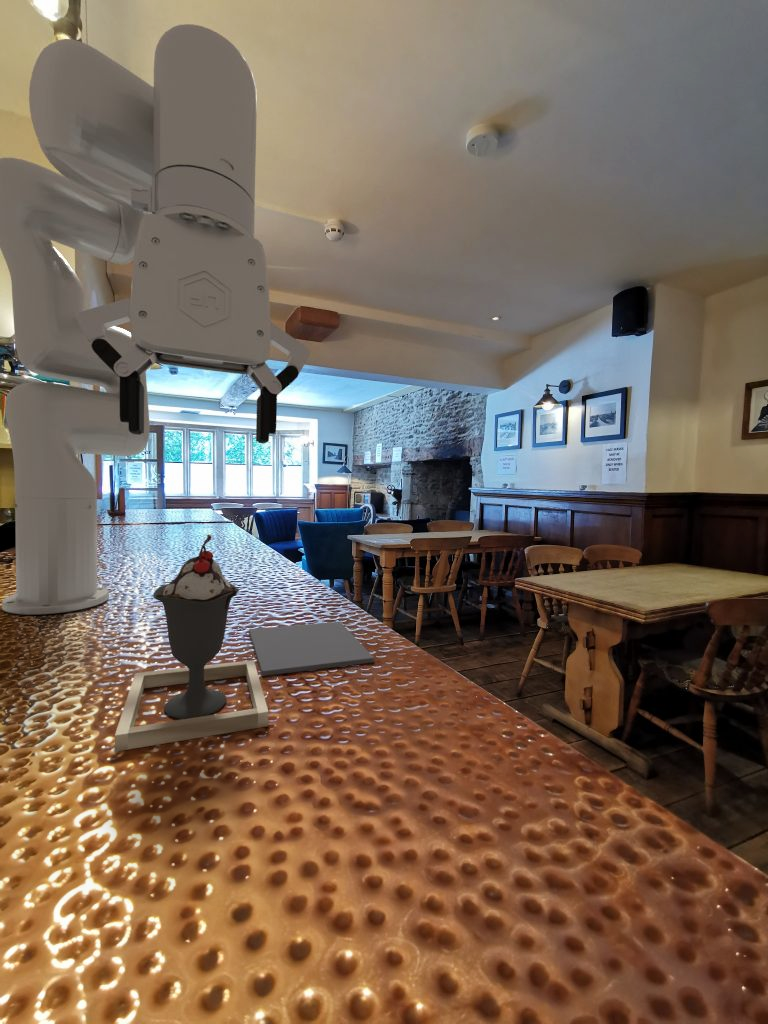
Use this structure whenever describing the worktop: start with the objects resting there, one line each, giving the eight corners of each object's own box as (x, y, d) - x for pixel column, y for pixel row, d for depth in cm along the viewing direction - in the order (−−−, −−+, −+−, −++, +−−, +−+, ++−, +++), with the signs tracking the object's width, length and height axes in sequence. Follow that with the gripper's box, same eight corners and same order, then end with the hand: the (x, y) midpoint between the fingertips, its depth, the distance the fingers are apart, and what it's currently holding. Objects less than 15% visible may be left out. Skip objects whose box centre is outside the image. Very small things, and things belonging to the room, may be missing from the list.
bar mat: (249, 632, 56) (249, 629, 56) (339, 625, 61) (339, 621, 61) (262, 676, 44) (262, 671, 44) (373, 662, 49) (374, 657, 49)
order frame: (135, 685, 41) (135, 673, 41) (253, 671, 45) (253, 660, 45) (114, 751, 31) (114, 735, 31) (268, 726, 35) (268, 711, 35)
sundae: (209, 731, 34) (212, 539, 33) (134, 718, 36) (135, 533, 35) (251, 692, 41) (255, 530, 40) (186, 682, 42) (188, 526, 41)
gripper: (62, 157, 29) (64, 423, 30) (322, 227, 35) (316, 442, 36) (89, 219, 36) (89, 433, 37) (302, 267, 42) (297, 447, 43)
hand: (202, 437), depth 37 cm, fingers open, 9 cm apart
